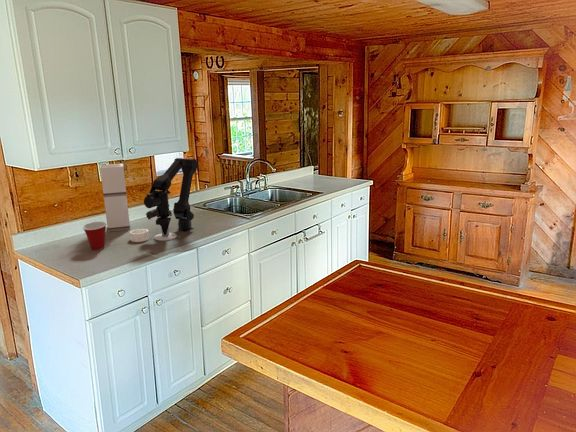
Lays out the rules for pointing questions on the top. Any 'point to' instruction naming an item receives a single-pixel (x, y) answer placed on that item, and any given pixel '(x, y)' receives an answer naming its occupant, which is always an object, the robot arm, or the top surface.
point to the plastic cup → (95, 234)
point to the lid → (165, 236)
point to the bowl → (139, 235)
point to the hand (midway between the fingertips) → (165, 233)
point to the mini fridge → (115, 197)
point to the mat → (165, 241)
